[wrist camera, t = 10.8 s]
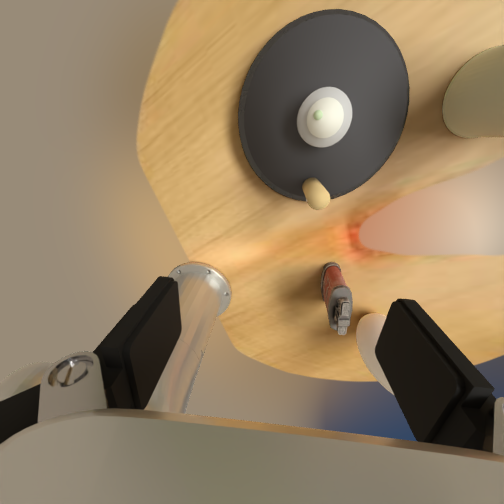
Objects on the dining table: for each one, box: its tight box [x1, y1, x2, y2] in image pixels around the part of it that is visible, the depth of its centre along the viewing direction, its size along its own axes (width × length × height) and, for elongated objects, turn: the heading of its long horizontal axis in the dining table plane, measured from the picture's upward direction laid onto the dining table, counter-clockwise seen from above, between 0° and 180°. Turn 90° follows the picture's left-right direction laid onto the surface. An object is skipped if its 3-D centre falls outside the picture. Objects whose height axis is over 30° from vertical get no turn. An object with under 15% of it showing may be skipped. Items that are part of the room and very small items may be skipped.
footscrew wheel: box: [244, 14, 407, 210], centre depth 26 cm, size 19×19×8 cm
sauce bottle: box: [356, 313, 394, 395], centre depth 37 cm, size 8×8×18 cm
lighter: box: [321, 262, 353, 335], centre depth 38 cm, size 8×3×10 cm, turn 5°
